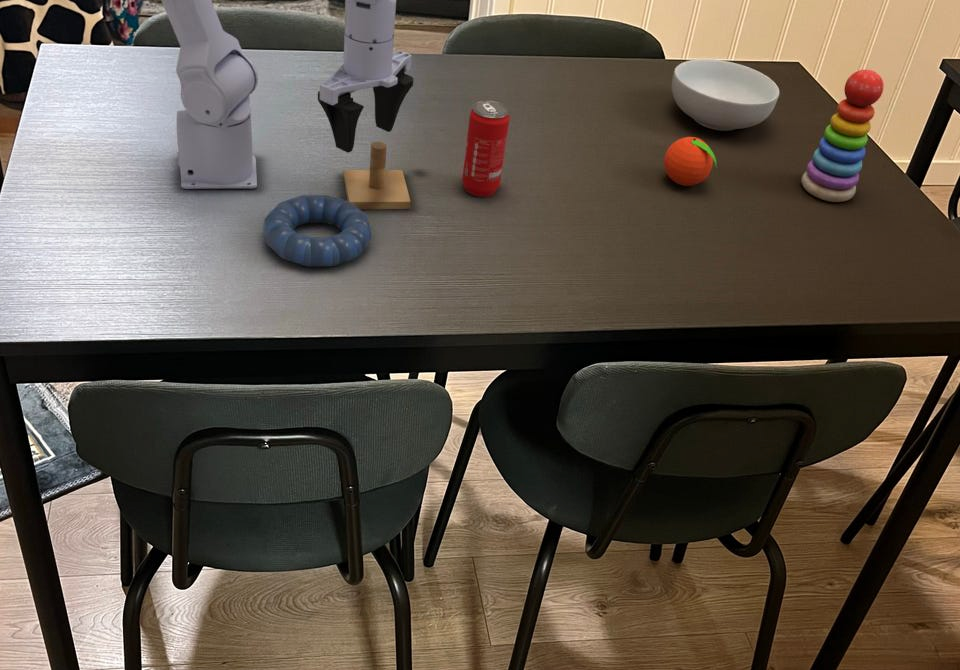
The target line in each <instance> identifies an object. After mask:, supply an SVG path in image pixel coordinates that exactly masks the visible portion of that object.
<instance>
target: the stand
mask: <svg viewBox="0 0 960 670" xmlns="http://www.w3.org/2000/svg"><path fill="white" fill-rule="evenodd" d="M369 156H370V157H369V159H370V160H369V169H343V174H342V175H343V177H342V178H343V183H344V189H345V190H344V191H345V194H346V201H349V202H351V203H352V204H354V205H355V206H356V207H357V208H359V209H360V210H361V211H362V210H411V198H410V193H409V190H408V187H407V183H406V179H405V176H404V175H405V174H404V172H403V169H386V162H387V161H386V160H387V144H386V143H385V142H383V141H373V142H371V144H370V155H369Z"/></svg>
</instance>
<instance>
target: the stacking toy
mask: <svg viewBox="0 0 960 670" xmlns="http://www.w3.org/2000/svg"><path fill="white" fill-rule="evenodd" d="M884 88H885V87H884V81H883V79H882V77H881V75H880V74H879V73H877V72H876V71H874V70H871V69H860V70H857V71H855V72H853V73H852V74H850V75H849V77H848V78H847V79H846V82H845V84H844V89H843V90H844V96H845V98H844V99H842V100H841V101H839V103H837V106H836V107H837V108H836V111H837V112H835V113H834V114H833V115H832V116H831V118H830V124H828V126H826V128H825V130H824V136H823V137H822V138H821V139H820V140H819V143H818V148H817V149H815V150H814V152H813V155H812V159H811V160H810V161H809V162H808V164H807V166H806V170H805V172H804V173H803V174H802V176H801V185H802V187H803V189H804V190H805V191H806V192H808V193H809V194H810V195H812V196H813V197H816V198H817V199H819V200H823V201H826V202H832V203H843V202H847V201H849V200H851V199H852V198H853V197H854V196H855V195H856V192H857V186H856V185H858V182H859V181H860V174H859V173H860V171H862V168H863V159H864V158H865V155H866V148H865V146H866V145H867V143H868V141H869V139H868V135H867V134H869V132H870V131H871V128H872V127H871V122H870V121H871V120H872V119H873V118H874V116H875V108H874V106H873V105H874V104H875V103H877V102H878V100H880V99H881V97H882V95H883V92H884Z"/></svg>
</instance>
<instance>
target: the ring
mask: <svg viewBox="0 0 960 670" xmlns="http://www.w3.org/2000/svg"><path fill="white" fill-rule="evenodd" d="M307 223H324V224H328V225H332V226H335V227H337V228H339V229H340V230H341V232H340V233H337V234H334V235H332V236H328V237H327V236H326V237H323V236H322V237H310V236H308V235H304V234H301V233H298V232H297V231H296V230H294V229H295V228H296V227H298V226H301V225H304V224H307ZM263 231H264V232H263V233H264V241H265V243H266V245H267V246H268V247H269V248H270V249H272V251H274V252H275V253H276V254H277V255H278V256H279V257H280V258H282V259H283V260H285V261H288V262H292V263H295V264H299V265H302V266H304V267H311V268H312V267H335V266H338V265H341V264H344V263H346V262H349V261H351V260H355V259H357V258H358V257H359V256H360V255H361V254H362V253H363V251H364V250H365V249H366V248H367V246H368V245H369V244H370V242H371V240H372V230H371V224H370V220H369V217H368V215H367V214H366V213H365V212H364V211H362V210H360V209H359V208H357V207H356V206H355V205H354V204H352V203H351V202H349V201H347V199H346V200H345V199H342V198H339V197H336V196H332V195H328V194H301V195H299V196H295V197H292V198H289V199H286V200H283V201H280V202H279V203H278V204H277V205H276V206H275V207H274V208H272V210H271V211H269V212H268V214H267V215H266V216H265V218H264V220H263Z"/></svg>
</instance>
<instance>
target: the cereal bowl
mask: <svg viewBox="0 0 960 670" xmlns="http://www.w3.org/2000/svg"><path fill="white" fill-rule="evenodd" d="M671 92H672V96H673V99H674V102H675V103H676V106H678V108H679V109H680V110H681V111H682V112H683V113H684V114H685V115H687V116H688V117H690V118H692V119H693V120H694V121H695V122H696V123H697V124H699V125H701V126H702V127H704V128H708V129H710V130H715V131H722V132H730V131H735V130H738V129H739V130H740V129H747V128H750V127H754V126H756V125H759V124H761V123H762V122H764V121H765V120H766V119H767V118H768V117H770V115H771V114H772V112H773V111H774V109H775V107H776V105H777V102H778V99H779V97H780V88H779V86H778V85H777V84H776V82H775V81H774V80H773V79H771V78H770V77H769V76H768V75H765V74H764V73H762V72H761V71H758V70H756V69H754V68H751V67H749V66H745V65H743V64H739V63H736V62H731V61H727V60H722V59H712V58H697V59H691V60H687V61H683V62H681V63H679V64H678V65H676V67H675V68H674V70H673V75H672V81H671Z"/></svg>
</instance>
